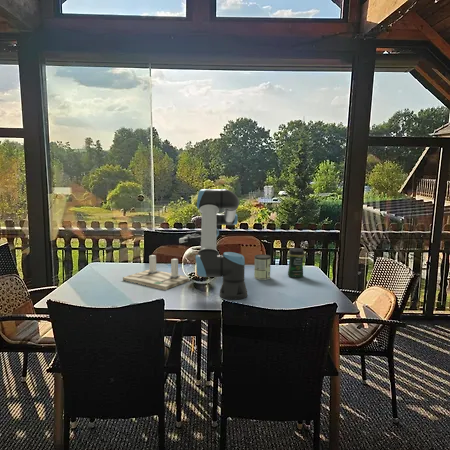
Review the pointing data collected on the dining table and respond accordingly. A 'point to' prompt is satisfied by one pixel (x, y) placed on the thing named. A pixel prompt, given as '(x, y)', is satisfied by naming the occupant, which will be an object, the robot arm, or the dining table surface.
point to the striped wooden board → (156, 279)
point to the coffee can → (262, 267)
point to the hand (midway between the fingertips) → (180, 240)
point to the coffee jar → (296, 262)
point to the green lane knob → (174, 268)
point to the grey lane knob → (152, 264)
